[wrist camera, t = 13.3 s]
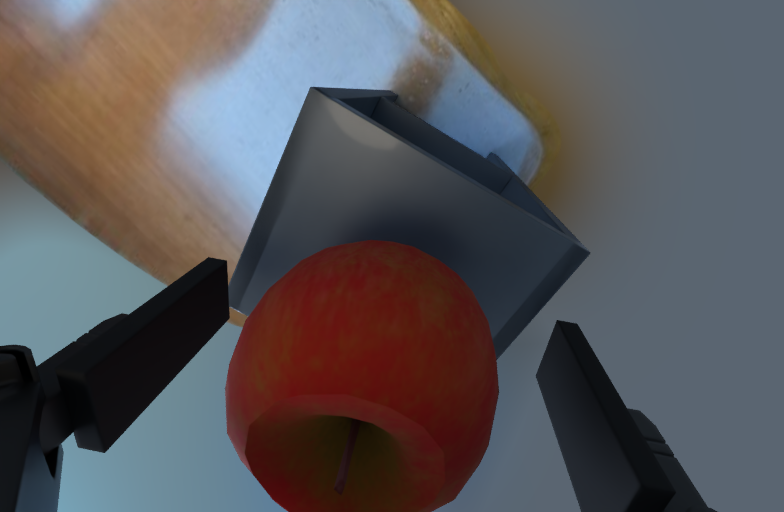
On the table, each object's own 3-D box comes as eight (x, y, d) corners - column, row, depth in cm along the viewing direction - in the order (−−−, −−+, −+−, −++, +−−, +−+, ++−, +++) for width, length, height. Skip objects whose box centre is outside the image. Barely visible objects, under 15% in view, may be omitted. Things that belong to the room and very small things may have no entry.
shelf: (389, 90, 41) (310, 86, 15) (498, 156, 42) (591, 253, 17) (342, 185, 46) (221, 302, 20) (441, 241, 47) (446, 418, 22)
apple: (454, 367, 20) (470, 633, 10) (299, 335, 20) (168, 564, 10) (500, 215, 17) (593, 398, 7) (311, 179, 17) (133, 302, 7)
